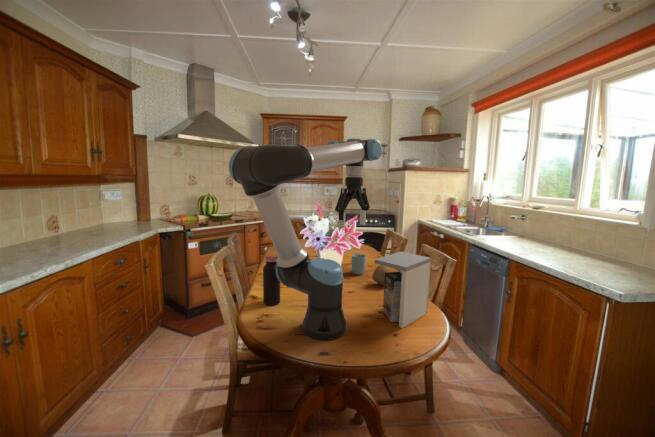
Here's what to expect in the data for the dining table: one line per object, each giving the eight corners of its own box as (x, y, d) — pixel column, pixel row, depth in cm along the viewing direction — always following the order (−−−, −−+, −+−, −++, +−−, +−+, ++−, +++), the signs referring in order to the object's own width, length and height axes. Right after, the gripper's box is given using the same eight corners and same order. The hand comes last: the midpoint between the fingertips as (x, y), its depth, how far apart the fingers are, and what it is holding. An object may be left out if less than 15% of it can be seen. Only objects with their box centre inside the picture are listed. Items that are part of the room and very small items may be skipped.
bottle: (260, 304, 123) (259, 256, 120) (269, 298, 129) (268, 252, 126) (274, 307, 120) (274, 258, 118) (283, 300, 127) (283, 254, 124)
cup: (364, 276, 159) (365, 258, 158) (350, 275, 161) (350, 256, 160) (366, 271, 167) (366, 254, 166) (352, 270, 168) (352, 253, 167)
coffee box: (382, 311, 118) (384, 271, 116) (397, 310, 120) (399, 271, 117) (391, 322, 109) (393, 280, 107) (407, 321, 111) (410, 279, 108)
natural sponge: (395, 287, 144) (396, 267, 143) (378, 289, 142) (378, 268, 140) (385, 281, 153) (386, 262, 151) (369, 282, 150) (370, 263, 149)
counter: (402, 328, 106) (406, 267, 102) (372, 315, 115) (374, 259, 111) (427, 312, 118) (431, 257, 115) (398, 302, 127) (401, 251, 124)
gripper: (365, 176, 139) (363, 222, 142) (327, 176, 122) (326, 228, 125) (378, 177, 134) (376, 224, 137) (340, 176, 117) (339, 230, 120)
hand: (352, 226), depth 131 cm, fingers open, 13 cm apart
